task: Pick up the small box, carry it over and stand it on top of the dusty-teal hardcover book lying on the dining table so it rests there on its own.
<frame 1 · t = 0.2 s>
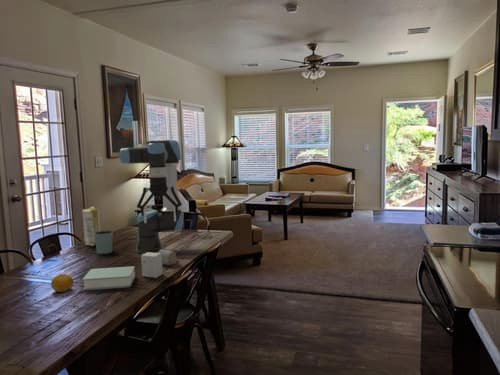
hand: (160, 221, 181), 26 cm above the table, tool pointing down, fingers open, 13 cm apart
teal cup: (105, 252, 229), on the table
fruit: (63, 290, 170), on the table
book: (110, 283, 177), on the table
small box: (152, 275, 186), on the table
juice carton: (92, 244, 247), on the table
ceramic mug: (168, 264, 204), on the table
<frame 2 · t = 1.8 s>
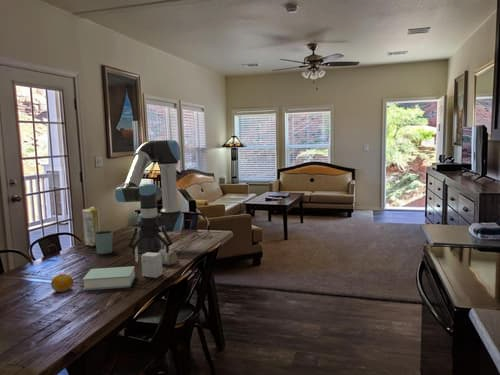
hand: (151, 260, 185), 7 cm above the table, tool pointing down, fingers open, 13 cm apart
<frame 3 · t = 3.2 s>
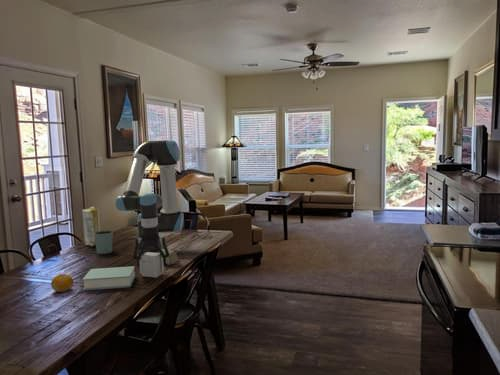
hand: (152, 271, 186), 2 cm above the table, tool pointing down, fingers closed on small box, 9 cm apart
small box: (152, 275, 186), on the table, touching gripper
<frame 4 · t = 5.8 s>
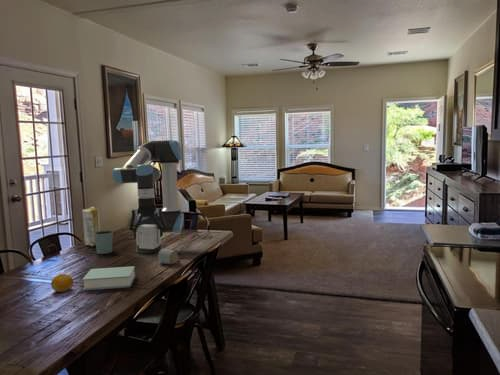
hand: (148, 243, 184), 16 cm above the table, tool pointing down, fingers closed on small box, 9 cm apart
small box: (149, 247, 184), point 14 cm above the table, touching gripper
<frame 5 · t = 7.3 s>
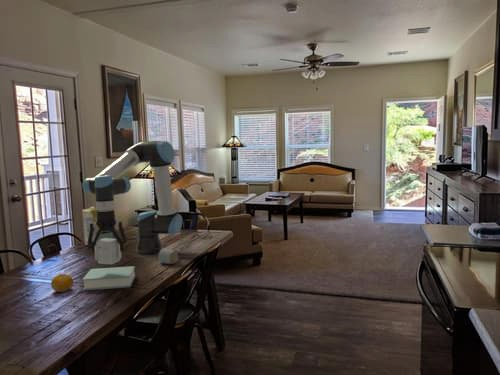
hand: (108, 258, 175), 11 cm above the table, tool pointing down, fingers closed on small box, 9 cm apart
small box: (108, 262, 176), point 10 cm above the table, touching gripper
when the fingers open (8 cm above the table, at t = 8.4 s): small box drops 1 cm, resting on book.
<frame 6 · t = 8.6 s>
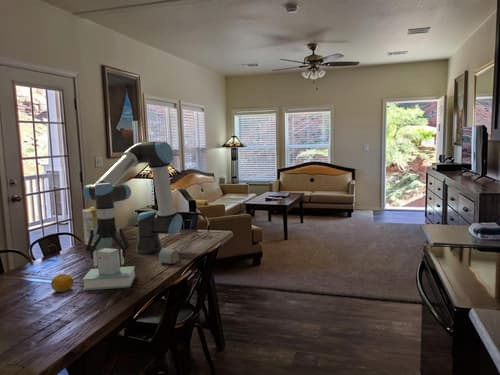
hand: (109, 264, 176), 9 cm above the table, tool pointing down, fingers open, 11 cm apart
small box: (109, 272, 176), point 5 cm above the table, touching book
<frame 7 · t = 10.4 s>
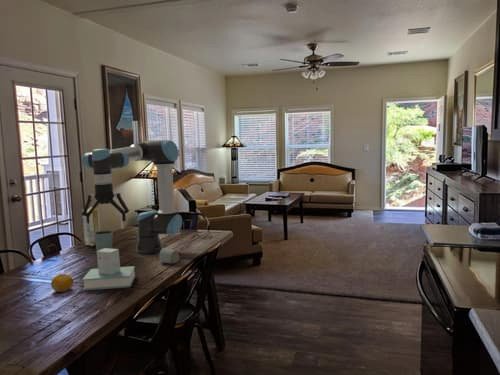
hand: (107, 229, 177), 24 cm above the table, tool pointing down, fingers open, 13 cm apart
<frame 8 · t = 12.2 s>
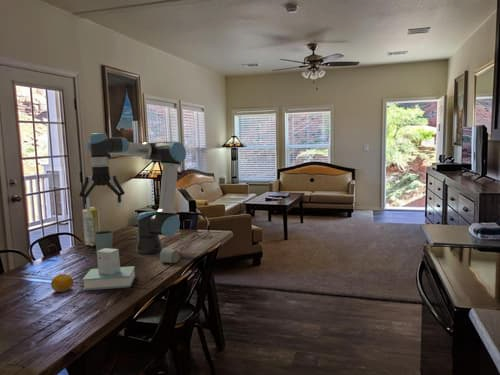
hand: (103, 210, 185), 32 cm above the table, tool pointing down, fingers open, 13 cm apart
at the end: small box inside the target area on the book (0.1 cm from its centre), point 4.8 cm above the book's base; small box tilted 0°; the gripper is holding nothing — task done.
